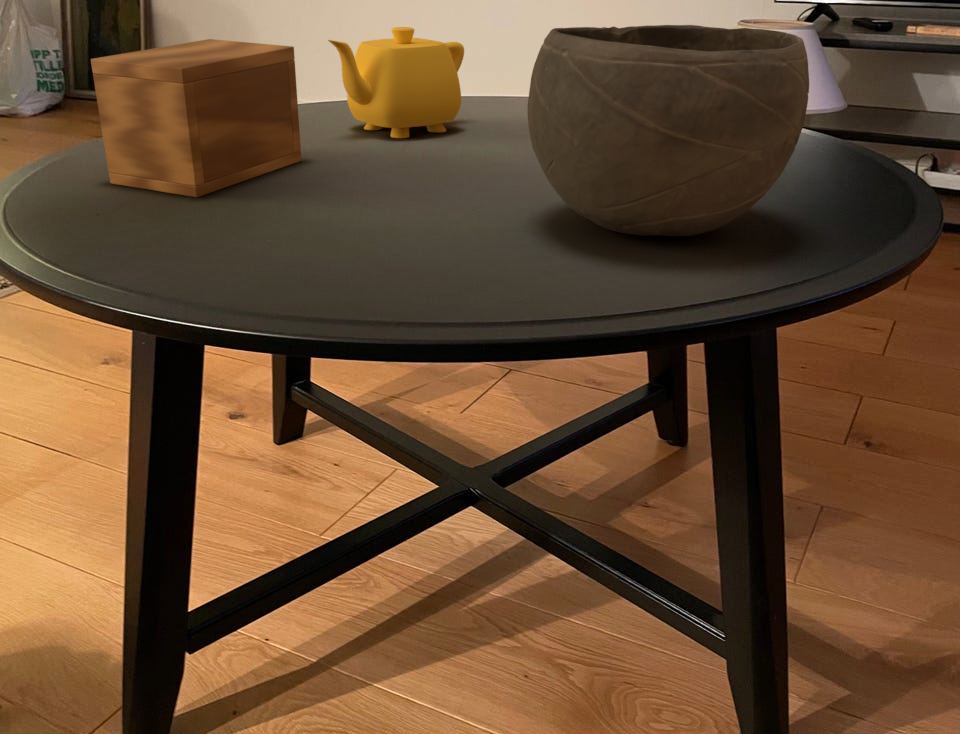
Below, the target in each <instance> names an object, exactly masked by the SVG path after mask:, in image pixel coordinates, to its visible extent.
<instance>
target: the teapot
mask: <svg viewBox="0 0 960 734" xmlns="http://www.w3.org/2000/svg"><path fill="white" fill-rule="evenodd" d="M391 34H392V36H393V37H392V38H381V39H380V38H379V39H371V40H365V41H361V42H359V44H358V47H357V49H356V52H355V54H354V52H353V49H352V48H351V46H350V45H349V44H348V43H346V42H344V41H338V40H331V39H327V41H328V42H329V43H330V44H331V45H333V46H334V47H335V49H336V50H337V52H338V55H339V58H340V63H341V77H342V83H343V87H344V90H345V91H346V94H347V95H346V96H347V98H346V99H347V100H346V101H347V106H348V108H349V111H350V112H351V114H352V117H353V118H354V119H355V120H357V121H360V122H363V123H366V124H365V125H364V127H363V129H364V130H365V131H366V130H367V131H378V130H379V131H381V130H383V128H387V129H389V128H390V130H391V131H390V137H391V138H393V139H406V138H407V139H408V138H410V136H411V135H410V128H414V127H415V128H416V127H417V128H418V127H426V130H427V132H430V133H445V132H447V129H446V127H445V126H444V124H443V123H448V122H451V121H453V120H455V119H456V117H457V115H458V113H459V112H460V109H461V107H462V92H461V85H460V79H459V76H458V75H459V74H458V72H459V70H460V69H461V66H462V63H463V60H464V56H465V47H464V45H463V44H462V43H461V42H458V41H448V42H443V41H440V40H439V41H438V40H433V39H427V38H419V37H413V36H414V34H415V28H413V27H410V26H395V27H392V28H391Z"/></svg>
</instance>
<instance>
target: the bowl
mask: <svg viewBox="0 0 960 734" xmlns="http://www.w3.org/2000/svg"><path fill="white" fill-rule="evenodd" d="M809 93H810V71H809V59H808V53H807V50H806V45H805V42H804V39H803V38H801V36H800V37H799V35H796V34H793V33H789V32H786V31H779V30H773V29H772V30H771V29H764V28H750V27H739V28H724V27H715V26H714V27H713V26H712V27H711V26H704V25H695V24H657V25H638V26H636V25H635V26H625V27H618V26H617V27H616V26H611V27H606V26H603V27H597V26H596V27H595V26H594V27H593V26H579V27H578V26H575V27H573V26H572V27H554V28H551V30H550V31H549V32H548V34H547V35H546V36H545V38H544V40H543V43H542V44H541V46H540V49H539V50H538V54H537V56H536V59H535V62H534V64H533V67H532V73H531V78H530V83H529V91H528V99H527V125H528V132H529V138H530V142H531V146H532V147H531V148H532V150H533V152H534V154H535V156H536V160H537V162H538V164H539V165H540V168H541V170H542V172H543V173H544V175H545V178H546V179H547V181H548V182H549V184H550V185H551V186H552V188H553V190H554V191H555V192H556V193H557V195H558V196H559V197H560V198H561V200H563V202H565V204H566V205H567V206H568V207H570V208H571V209H572V210H573V211H574V212H575V213H576V214H578V215H580V216H581V217H583V218H585V219H586V220H588V221H591V222H592V223H594V224H596V225H597V226H599V227H601V228H604V229H606V230H609V231H614V232H617V233H620V234H626V235H633V236H642V237H643V236H645V237H646V236H647V237H648V236H662V237H691V236H692V237H693V236H698V235H701V234H705V233H708V232H712V231H714V230H717V229H720V228H722V227H724V226H725V225H727V224H729V223H730V222H733V220H735V219H737V218H738V217H739V216H741V215H743V214H744V213H745V212H746V211H748V210H749V209H751V208H753V206H755V205H756V204H757V203H758V202H759V201H760V200H761V199H762V198H763V197H764V196H765V195H766V194H767V193H768V192H769V191H770V190H771V188H772V187H773V186H774V185H775V183H776V182H777V181H778V179H779V178H780V177H781V175H782V174H783V172H784V170H785V168H786V166H788V163H789V161H790V160H791V158H792V155H794V154H793V153H794V152H795V150H796V146H797V144H798V142H799V139H800V136H801V134H802V131H803V128H804V125H805V120H806V117H807V116H806V115H807V111H808V110H807V109H808V105H809Z"/></svg>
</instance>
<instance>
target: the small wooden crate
mask: <svg viewBox="0 0 960 734" xmlns="http://www.w3.org/2000/svg"><path fill="white" fill-rule="evenodd" d="M90 64H91V70H92V71H91V72H92V78H93V82H94V83H93V84H94V90H95V95H96V102H97V107H98V114H99V121H100V127H101V133H102V140H103V145H104V152H105V158H106V165H107V171H108V177H109V184H112V185H117V186H124V187H130V188H136V189H142V190H148V191H154V192H161V193H167V194H173V195H179V196H186V197H192V198H199V197H203V196H205V195H208V194H211V193H215V192H218V191H220V190H223V189H226V188H228V187H231V186H234V185H238V184H240V183H243V182H246V181H249V180H251V179H254V178H257V177H260V176H262V175H265V174H269V173H271V172H274V171H276V170H279V169H283V168H286V167H288V166H291V165H294V164H297V163H299V162H301V161H302V149H301V148H302V147H301V134H300V133H301V132H300V131H301V130H300V118H299V103H298V102H299V101H298V91H297V90H298V88H297V87H298V86H297V74H296V60H295V47H294V46H291V45H280V44H271V43H270V44H268V43H267V44H266V43H260V42H259V43H258V42H246V41H237V40H236V41H235V40H224V39H214V38H207V39H202V40H196V41H191V42H185V43H178V44H177V43H176V44H173V45H172V44H171V45H166V46H160V47H155V48H154V47H153V48H147V49H143V50H142V49H141V50H135V51H130V52H125V53H124V52H123V53H119V54H118V53H117V54H112V55H107V56H101V57H100V56H99V57H94V58H90Z"/></svg>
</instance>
